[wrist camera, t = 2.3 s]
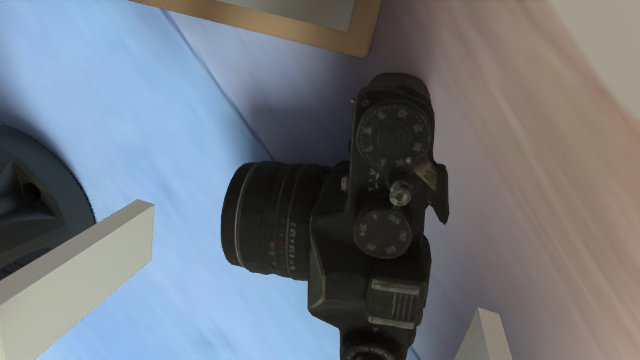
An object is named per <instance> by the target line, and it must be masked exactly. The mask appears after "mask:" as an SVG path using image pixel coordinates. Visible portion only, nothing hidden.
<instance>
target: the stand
mask: <svg viewBox="0 0 640 360" xmlns="http://www.w3.org/2000/svg"><path fill="white" fill-rule="evenodd" d="M129 1H133V2H137V3H141V4H145V5H149V6H153V7H157V8H161V9H165V10H169V11H173V12H178V13H182V14H186V15H190V16H194V17H198V18H202V19H206V20H210V21H214V22H218V23H222V24H226V25H230V26H234V27H238V28H242V29H246V30H250V31H254V32H259V33H263V34H267V35H271V36H275V37H279V38H283V39H287V40H291V41H295V42H299V43H303V44H307V45H311V46H315V47H319V48H323V49H327V50H331V51H335V52H340V53H344V54H348V55H352V56H356V57H360V58H365V57H366V56H368V55H369V52H370V48H371V44H372V40H373V36H374V32H375V28H376V24H377V20H378V16H379V13H380V9H381V5H382V1H383V0H129Z"/></svg>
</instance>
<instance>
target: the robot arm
mask: <svg viewBox="0 0 640 360" xmlns="http://www.w3.org/2000/svg"><path fill="white" fill-rule="evenodd" d="M154 207H155V204H152V203H148V202H145V201H142V200H139V199H137V200H136V201H134V202H132V203H130V204H129V205H127V206H125V207H124V208H122V209H120V210H119V211H117V212H115V213H114V214H112V215H110V216H109V217H107V218H105V219H104V220H102V221H100V222H98V223H97V224H95V222H94V218H93V215H92V212H91V209H90V207H89V204H88V202H87V200H86V198H85V196H84V194H83V192H82V190H81V189H80V187H79V186H78V184H77V182H76V181H75V180H74V178H73V177H72V175H71V174H70V173H69V171H68V170H67V169H66V168H65V167H64V166H63V164H62V163H61V162H60V161H59V160H58V159H57V158H56V157H55V156H54V155H53V154H52V153H51V152H49V151H48V150H47V149H46V148H45V147H43V146H42V145H41V144H39V143H38V142H37V141H35V140H34V139H32V138H30V137H29V136H27V135H25V134H24V133H22V132H20V131H18V130H15V129H13V128H10V127H8V126H5V125H1V124H0V360H35V359H36V358H37V357H39V356H40V355H41V354H42V353H43V352H44V351H46V350H47V349H48V348H49V347H50V346H51V345H53V344H54V343H55V342H56V341H57V340H59V339H60V338H61V337H62V336H63V335H64V334H66V333H67V332H68V331H69V330H70V329H71V328H73V327H74V326H75V325H76V324H77V323H78V322H80V321H81V320H82V319H83V318H84V317H85V316H87V315H88V314H89V313H90V312H91V311H92V310H94V309H95V308H96V307H97V306H98V305H99V304H101V303H102V302H103V301H104V300H105V299H106V298H108V297H109V296H110V295H111V294H112V293H113V292H115V291H116V290H117V289H118V288H119V287H121V286H122V285H123V284H124V283H125V282H126V281H128V280H129V279H130V278H131V277H132V276H133V275H135V274H136V273H137V272H138V271H139V270H140V269H142V268H143V267H144V266H145V265H146V264H147V263H149V262H150V261H151V254H152V239H153V223H154ZM454 360H513V359H512V356H511V352H510V349H509V346H508V342H507V339H506V335H505V332H504V329H503V325H502V322H501V319H500V315H499V314H498V313H494V312H491V311H488V310H485V309H482V308H479V307H478V308H477V311H476V313H475V315H474V317H473V319H472V321H471V323H470V326H469V328H468V330H467V332H466V334H465V336H464V338H463V341H462V343H461V345H460V347H459V349H458V351H457V354H456V356H455V358H454Z"/></svg>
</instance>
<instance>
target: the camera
mask: <svg viewBox="0 0 640 360" xmlns="http://www.w3.org/2000/svg"><path fill="white" fill-rule="evenodd" d="M351 103H353V104H354V108H353V118H352V131H351V139H350V140H349V142H348V150H349V152H350V153H351V155H350V161H341V162H339V163H338V164H337V165H336V166H335V167H332V168H329V167H323V166H320V165H316V164H301V163H296V164H285V163H281V162H274V161H262V162H248V163H245V164H243V165H242V166H241V167H239V168H238V169H237V171H236V172H235V174H234V176H233V177H232V179H231V181H230V184H229V186H228V189H227V192H226V195H225V198H224V203H223V208H222V214H221V244H222V249H223V252H224V254H225V257H226V259H227V260H228V262H229V263H231V264H232V265H237V266H241V267H244V268H246V269H247V270H249V271H250V272H253V273H261V274H265V275H268V274H276V275H279V276H282V277H287V278H292V279H294V280H301V281H308V310H309V312H310V313H311V314H312V316H314V317H316V318H318V319H320V320H322V321H325V322H327V323H329V324H331V325H333V326H335V327H337V328H338V329H339V331H340V360H405V359H406V356H407V350H408V348H409V347H410V346H411V345H412V344H413V342H414V339H415V336H416V327H417V326H418V325H420V323H421V320H422V316H423V308H425V305H426V298H427V293H428V285H429V276H430V268H431V261H432V260H431V252H430V244H429V242H428V239H427V238H426V237H425V235H424V234H423V233H424V220H425V210H426V208H427V207H428V205H430V206H432V207H433V209H434V211H435V213H436V215H437V217H438V219H439V221H440V222H442V223H443V224H444V225H445V224H446V223H447V220H448V216H449V203H448V173H447V170H446V166H445V165H443V164H437V163H436V162H435V161H434V158H433V144H434V130H435V129H434V128H435V119H434V111H433V108H432V104H431V99H430V94H429V92H428V89H427V87H426V85H425V84H424V83H423V82H422V80H420V79H419V78H417V77H415V76H412V75H409V74H405V73H383V74H380V75H378V76H376V77H375V78H374V79H373V80H372V81H371V82H370V84H369V85H368V86H367V87H365V88H363V89H361V91H360V92H359V93H358V95H357V97H356V98H352V100H351Z"/></svg>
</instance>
